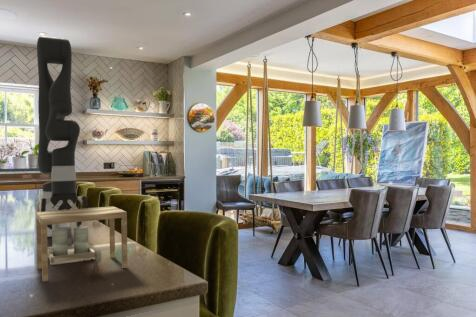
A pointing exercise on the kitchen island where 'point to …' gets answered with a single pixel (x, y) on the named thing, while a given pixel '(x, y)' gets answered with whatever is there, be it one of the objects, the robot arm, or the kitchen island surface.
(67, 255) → the tray
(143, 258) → the kitchen island surface
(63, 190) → the robot arm
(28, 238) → the kitchen island surface
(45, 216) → the oak shelf
